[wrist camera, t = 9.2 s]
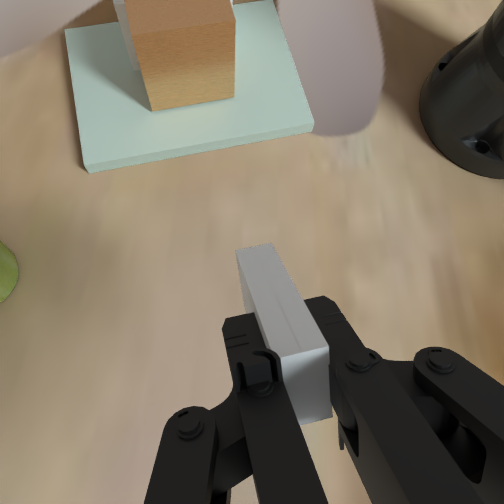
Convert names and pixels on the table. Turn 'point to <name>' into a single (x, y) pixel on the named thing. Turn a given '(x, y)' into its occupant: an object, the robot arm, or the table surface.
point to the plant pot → (7, 272)
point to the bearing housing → (185, 117)
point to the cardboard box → (184, 50)
